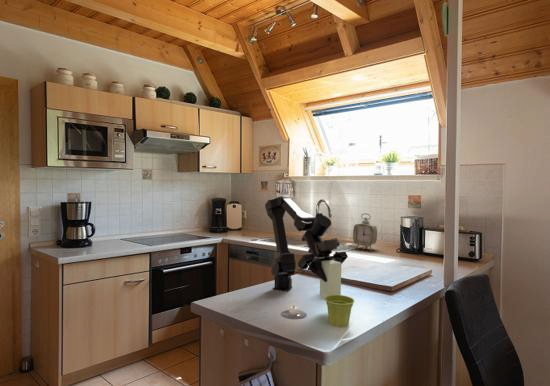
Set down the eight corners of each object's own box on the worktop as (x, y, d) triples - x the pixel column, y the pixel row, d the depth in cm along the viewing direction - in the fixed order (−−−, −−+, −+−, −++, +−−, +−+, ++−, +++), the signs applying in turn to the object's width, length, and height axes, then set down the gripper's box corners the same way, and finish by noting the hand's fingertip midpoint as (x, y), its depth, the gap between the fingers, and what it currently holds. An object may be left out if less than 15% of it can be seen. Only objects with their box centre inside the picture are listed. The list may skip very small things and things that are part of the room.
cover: (319, 295, 134) (320, 261, 134) (331, 294, 137) (332, 259, 136) (328, 300, 130) (329, 264, 129) (340, 298, 132) (341, 262, 132)
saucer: (276, 318, 127) (276, 316, 127) (287, 310, 135) (287, 308, 135) (300, 323, 123) (300, 321, 123) (310, 315, 131) (310, 312, 131)
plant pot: (351, 320, 127) (351, 295, 126) (356, 332, 117) (356, 304, 117) (323, 319, 127) (323, 294, 127) (325, 331, 118) (326, 303, 117)
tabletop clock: (352, 248, 263) (353, 213, 262) (358, 247, 270) (359, 212, 270) (372, 251, 254) (373, 214, 254) (377, 249, 262) (378, 213, 261)
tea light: (287, 314, 129) (288, 306, 129) (291, 312, 131) (291, 304, 131) (295, 316, 127) (296, 308, 127) (299, 313, 130) (299, 305, 130)
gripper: (303, 231, 131) (320, 270, 122) (345, 229, 140) (365, 265, 131) (290, 250, 139) (306, 288, 129) (331, 247, 148) (349, 282, 138)
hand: (332, 280), depth 132 cm, fingers closed on cover, 5 cm apart
